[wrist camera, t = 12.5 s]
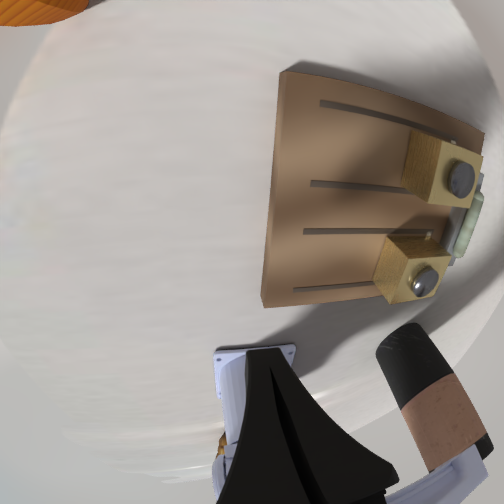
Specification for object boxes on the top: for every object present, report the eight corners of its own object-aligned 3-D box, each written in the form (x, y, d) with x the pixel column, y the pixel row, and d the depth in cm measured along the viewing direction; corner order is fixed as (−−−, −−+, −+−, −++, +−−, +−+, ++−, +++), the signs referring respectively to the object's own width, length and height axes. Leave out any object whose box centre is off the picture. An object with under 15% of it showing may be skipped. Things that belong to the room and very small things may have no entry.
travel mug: (429, 328, 30) (498, 442, 14) (390, 363, 33) (445, 477, 17) (407, 314, 27) (490, 456, 11) (362, 356, 30) (424, 495, 13)
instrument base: (427, 278, 24) (448, 301, 21) (260, 295, 22) (270, 332, 18) (472, 129, 16) (505, 141, 13) (279, 72, 13) (301, 67, 10)
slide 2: (414, 275, 21) (437, 300, 18) (371, 280, 21) (393, 310, 18) (430, 236, 19) (456, 260, 16) (386, 236, 18) (413, 264, 15)
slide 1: (444, 191, 17) (475, 212, 14) (400, 185, 16) (433, 207, 13) (455, 144, 15) (489, 159, 12) (411, 129, 14) (449, 143, 11)
